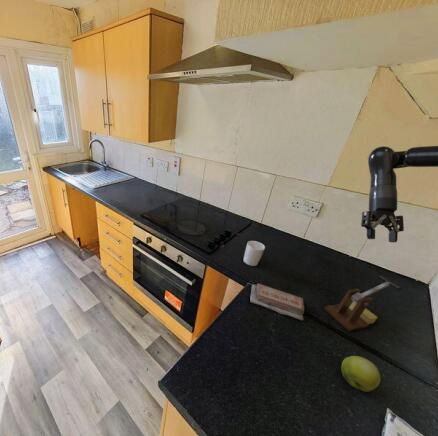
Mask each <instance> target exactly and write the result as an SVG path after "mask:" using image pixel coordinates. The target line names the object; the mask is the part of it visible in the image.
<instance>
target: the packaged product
mask: <svg viewBox="0 0 438 436" xmlns="http://www.w3.org/2000/svg"><path fill="white" fill-rule="evenodd" d="M249 299H250V302H249V303H252V304H255V305H257V306H261V307H264V308H266V309H268V310H271V311H274V312H276V313H278V314H280V315H285V316H289V317H291V318H294V319H296V320H299V321H304V317H303V316H304V313H305V305H304V298H303V297H300V296H298V295H294V294H292V293H288V292H286V291H282V290H280V289H276V288H274V287H270V286H267V285H264V284H262V283H256V284H254V283H252V285H251V289H250V298H249Z"/></svg>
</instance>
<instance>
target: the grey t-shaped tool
mask: <svg viewBox="0 0 438 436" xmlns="http://www.w3.org/2000/svg"><path fill="white" fill-rule="evenodd" d="M378 279H379V280H380V281H382V283H381V284H379V285H377V286H375V287H372V288H370V289H368V290H366V291H364V292H362V293H361V292H358V293H356V294H354V295H352V296H351V300H352V301H353V302H355V303H356V304H357V302H358V301H359V299H361V298H366V297H370V295H373V294H375V293H377V292H380V291H381V290H384V289H385V288H387V287H389V286H391V287H392V288H393V289H395V290H397V291H400V290H402V289H403V286H401V285H399V284H398V283H396V282H395V281H393V280H391V279H389V278H388V277H387V276H385V275H383V274H381V275H380V276H378Z"/></svg>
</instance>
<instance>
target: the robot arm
mask: <svg viewBox="0 0 438 436" xmlns="http://www.w3.org/2000/svg"><path fill="white" fill-rule="evenodd" d="M367 157H368V158H367V164H368V169H369V170H368V171H369V174H370V180H369V181H370V182H369V193H368V210H365V211H362V212H361V223H360V226H361V227H362V228H365V230H366V238H367V240H375V239H376V228H377V227H378V226H379V225H380V226H384V228H386V229H387V230H388V242H389V243H397V242H398V234H399V232H404V227H405V226H404V216H403V215H395V212H397V210H398V189H397V174H396V171H395V169H402V168H403V169H404V168H438V145H427V146H426V145H425V146H413V147H410V148H408V149H407V150H401V151H399V150H398V151H395V150H394V149H393V148H391V147H389V146H378V147H376V148H374V149H373V150H371V152H370V153H369V154H368V156H367Z"/></svg>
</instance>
